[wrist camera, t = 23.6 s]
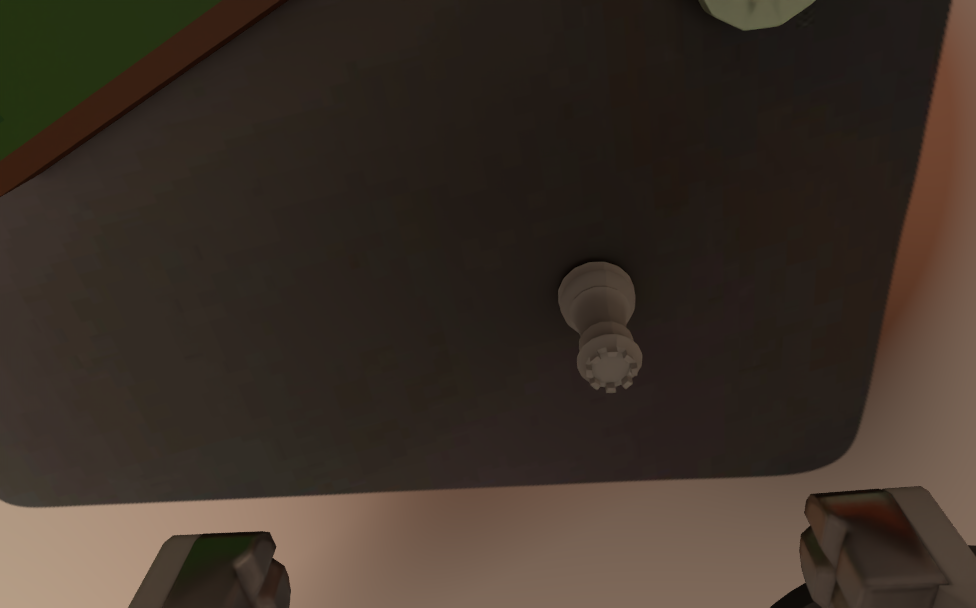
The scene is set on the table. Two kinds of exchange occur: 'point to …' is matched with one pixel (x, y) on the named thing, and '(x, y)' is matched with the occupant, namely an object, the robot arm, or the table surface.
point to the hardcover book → (96, 66)
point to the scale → (754, 11)
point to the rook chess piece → (602, 323)
